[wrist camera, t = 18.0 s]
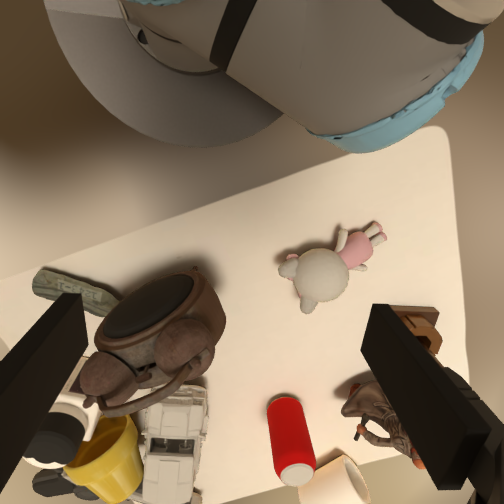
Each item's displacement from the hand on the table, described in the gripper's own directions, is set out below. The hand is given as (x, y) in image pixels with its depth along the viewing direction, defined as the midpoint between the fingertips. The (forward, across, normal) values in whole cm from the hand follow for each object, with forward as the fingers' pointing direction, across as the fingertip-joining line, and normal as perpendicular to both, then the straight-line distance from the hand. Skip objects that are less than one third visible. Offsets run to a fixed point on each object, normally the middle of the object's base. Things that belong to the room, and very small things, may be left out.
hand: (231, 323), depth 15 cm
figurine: (+29, +27, -32) cm, 51 cm away
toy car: (+29, -6, -40) cm, 49 cm away
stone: (+28, -18, -13) cm, 36 cm away
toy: (+29, +15, -8) cm, 33 cm away
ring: (+27, +29, -20) cm, 44 cm away
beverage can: (+29, +12, -37) cm, 48 cm away
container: (+29, -20, -31) cm, 47 cm away
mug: (+22, +20, -52) cm, 59 cm away
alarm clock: (+29, -7, -14) cm, 33 cm away
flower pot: (+22, -14, -47) cm, 54 cm away
